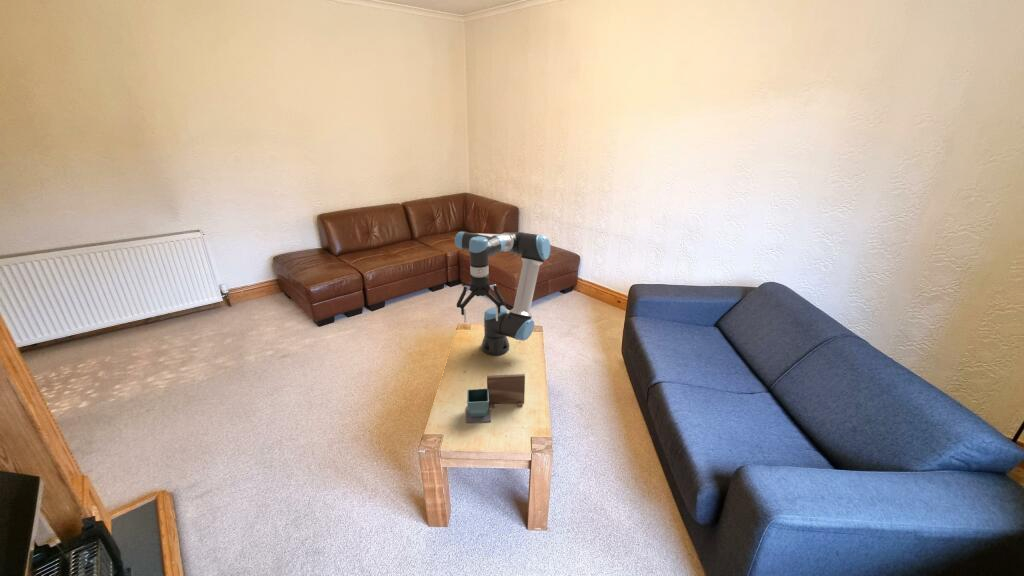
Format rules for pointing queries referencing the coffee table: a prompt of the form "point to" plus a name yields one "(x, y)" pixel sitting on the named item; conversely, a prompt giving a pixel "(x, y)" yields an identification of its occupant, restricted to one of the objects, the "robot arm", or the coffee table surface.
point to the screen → (506, 389)
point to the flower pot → (477, 402)
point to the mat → (478, 419)
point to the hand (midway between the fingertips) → (481, 320)
